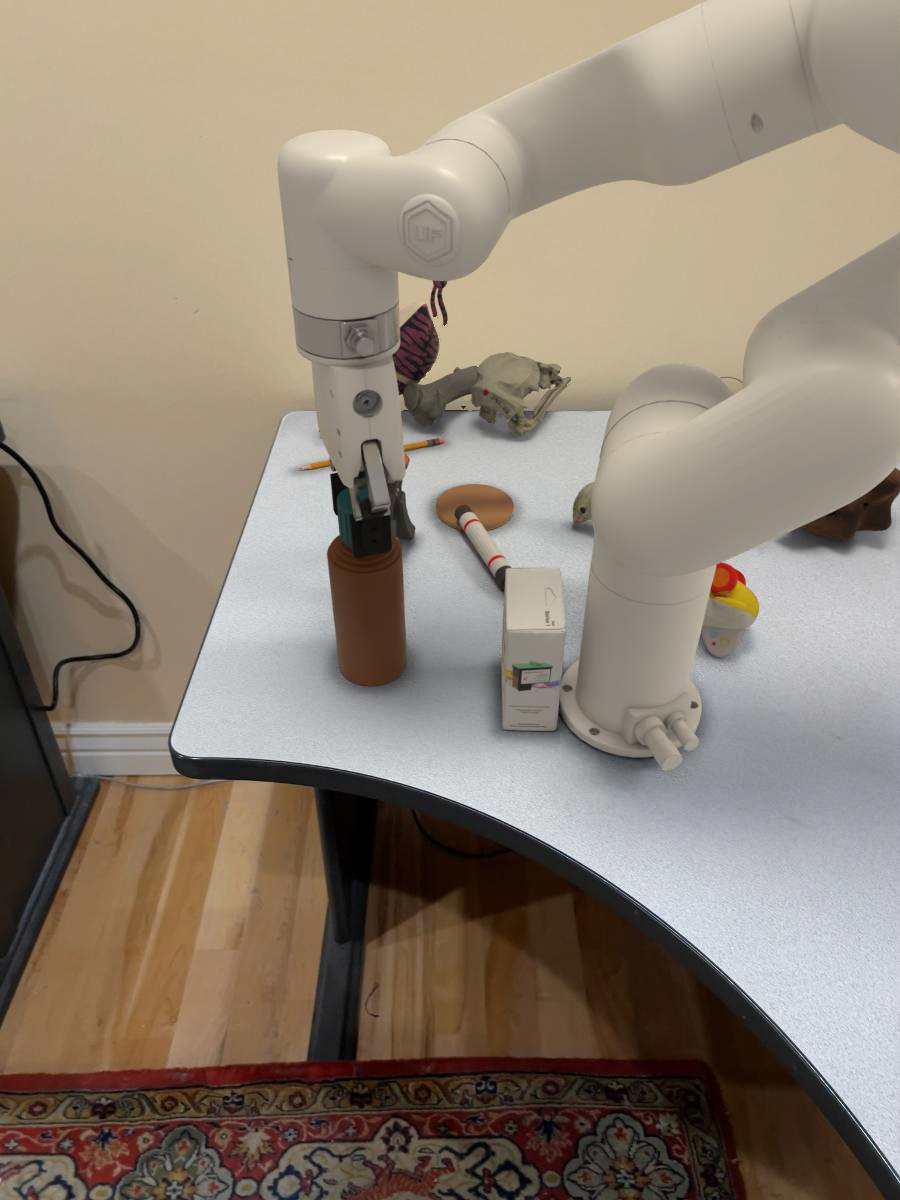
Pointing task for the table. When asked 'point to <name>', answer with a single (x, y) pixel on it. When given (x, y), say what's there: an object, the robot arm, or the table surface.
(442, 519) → the coaster
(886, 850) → the table surface
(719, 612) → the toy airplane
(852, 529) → the decorative turtle
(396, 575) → the bottle
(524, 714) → the ink box
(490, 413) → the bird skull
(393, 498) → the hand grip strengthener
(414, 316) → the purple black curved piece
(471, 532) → the marker
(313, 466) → the pencil
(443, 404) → the bone
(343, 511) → the cap
